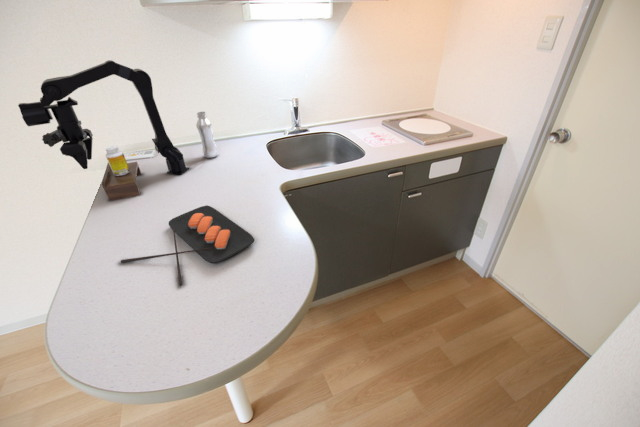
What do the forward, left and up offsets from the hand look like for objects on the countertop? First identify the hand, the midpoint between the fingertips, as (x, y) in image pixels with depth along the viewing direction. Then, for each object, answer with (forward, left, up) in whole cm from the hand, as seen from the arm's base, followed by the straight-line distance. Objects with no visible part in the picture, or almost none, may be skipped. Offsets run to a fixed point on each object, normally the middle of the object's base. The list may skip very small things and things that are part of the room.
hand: (87, 163), depth 111 cm
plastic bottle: (-23, -40, -12) cm, 47 cm away
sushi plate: (-53, +21, -12) cm, 58 cm away
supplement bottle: (-7, -6, -6) cm, 11 cm away
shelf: (-7, -6, -11) cm, 14 cm away
